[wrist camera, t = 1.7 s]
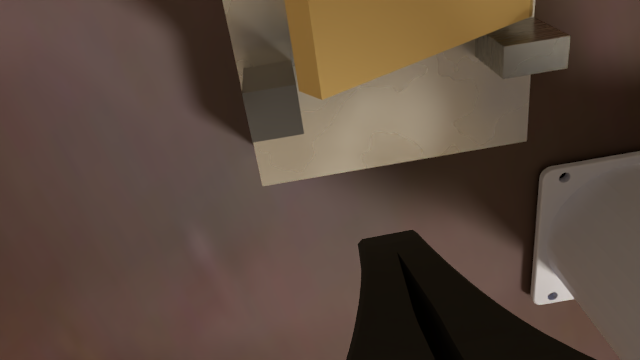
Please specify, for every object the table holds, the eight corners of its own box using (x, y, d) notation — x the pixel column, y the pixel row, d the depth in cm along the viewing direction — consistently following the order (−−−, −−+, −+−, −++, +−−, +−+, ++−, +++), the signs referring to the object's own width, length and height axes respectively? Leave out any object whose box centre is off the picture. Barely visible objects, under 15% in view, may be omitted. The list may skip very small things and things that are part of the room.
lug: (291, 60, 18) (296, 84, 16) (298, 105, 19) (304, 133, 17) (243, 68, 18) (241, 93, 16) (252, 112, 19) (252, 142, 17)
